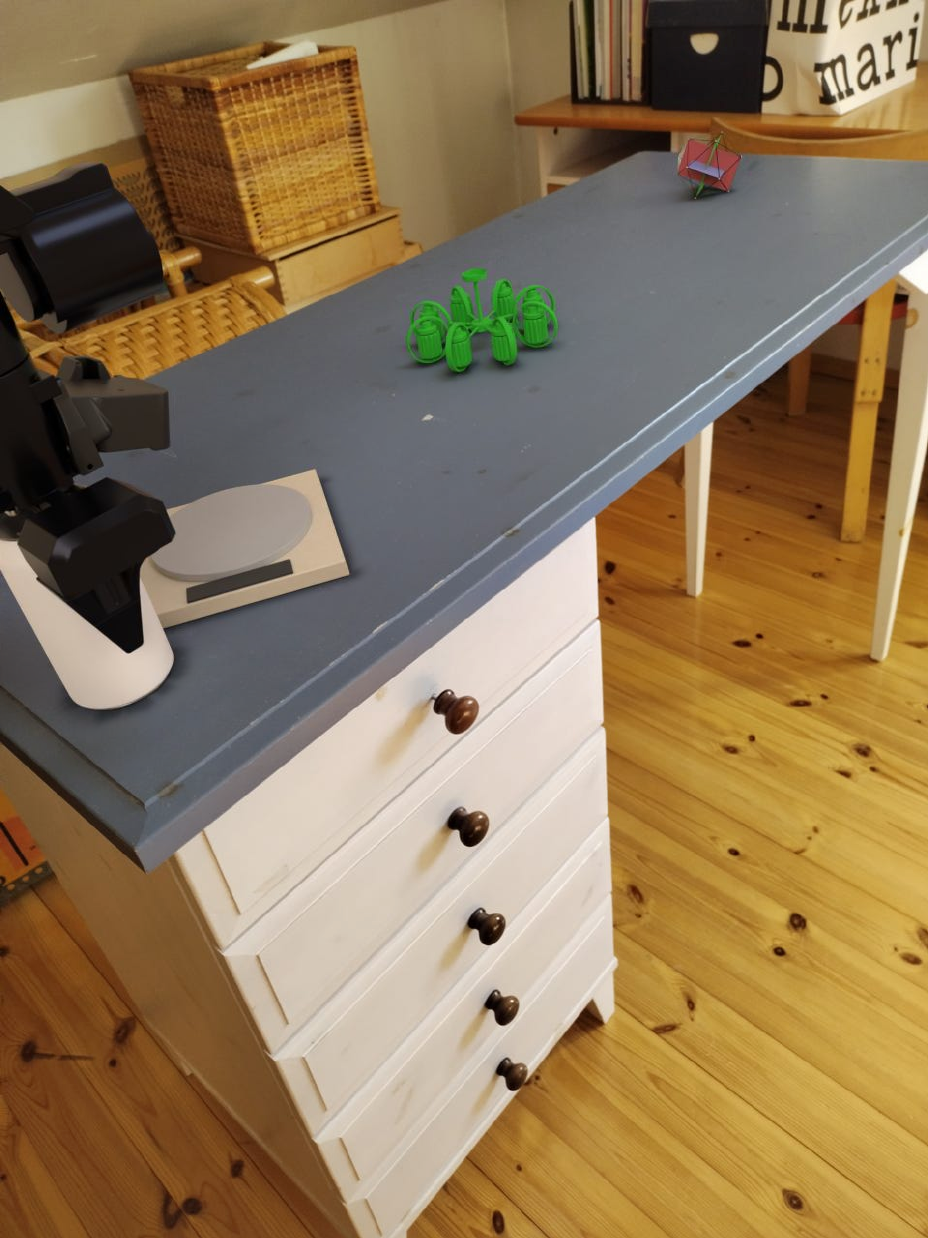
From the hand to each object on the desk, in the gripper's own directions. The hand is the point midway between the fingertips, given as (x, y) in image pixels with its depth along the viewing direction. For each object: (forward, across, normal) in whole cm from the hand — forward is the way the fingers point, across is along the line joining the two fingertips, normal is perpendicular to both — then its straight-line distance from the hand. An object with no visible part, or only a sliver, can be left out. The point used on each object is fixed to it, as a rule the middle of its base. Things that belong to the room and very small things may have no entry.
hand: (97, 621), depth 55 cm
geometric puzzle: (+5, +20, -95) cm, 97 cm away
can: (+5, 0, 0) cm, 5 cm away
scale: (+4, +6, -12) cm, 14 cm away
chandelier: (+5, +14, -47) cm, 50 cm away
